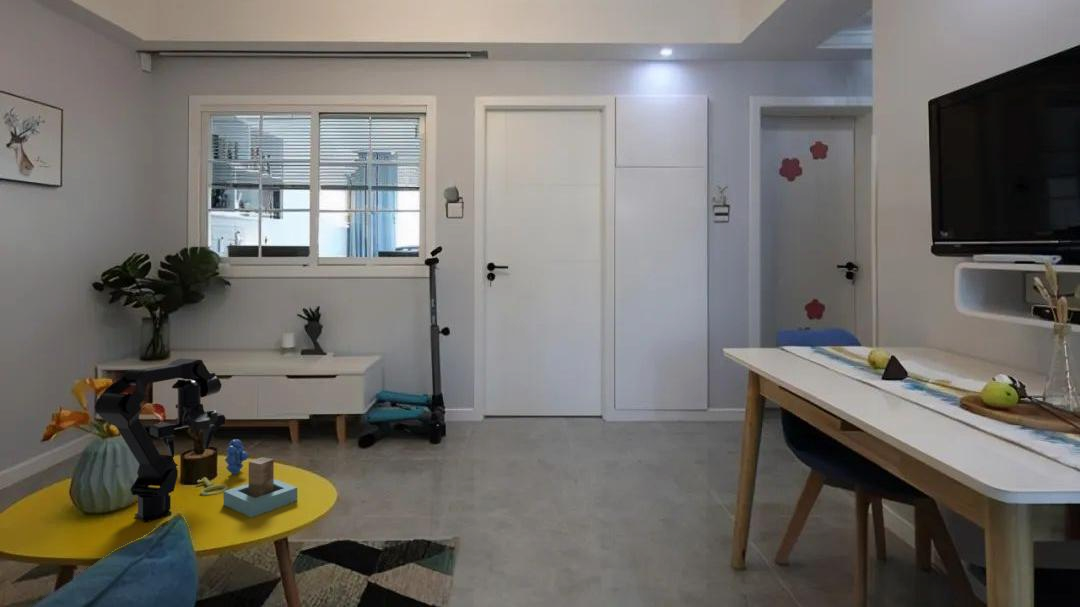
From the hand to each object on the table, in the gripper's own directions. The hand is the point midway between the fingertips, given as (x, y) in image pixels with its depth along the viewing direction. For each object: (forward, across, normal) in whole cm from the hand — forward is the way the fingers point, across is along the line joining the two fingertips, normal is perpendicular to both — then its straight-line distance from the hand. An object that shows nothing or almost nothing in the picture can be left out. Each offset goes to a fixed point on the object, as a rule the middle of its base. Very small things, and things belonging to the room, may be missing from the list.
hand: (189, 453), depth 163 cm
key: (+14, +6, +1) cm, 15 cm away
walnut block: (+12, +10, -21) cm, 26 cm away
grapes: (+13, +18, +6) cm, 23 cm away
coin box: (+13, +10, -21) cm, 26 cm away
